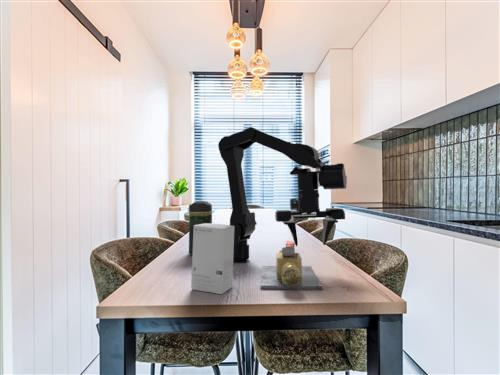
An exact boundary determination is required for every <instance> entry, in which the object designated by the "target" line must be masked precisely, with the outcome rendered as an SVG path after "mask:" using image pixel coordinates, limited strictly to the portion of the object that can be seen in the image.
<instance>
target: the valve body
mask: <svg viewBox="0 0 500 375" xmlns="http://www.w3.org/2000/svg"><path fill="white" fill-rule="evenodd" d="M275 256H276V259H275V261H276V263H275V264H276V265H262V266H261V276H260V289H261V290H303V291H304V290H307V291H308V290H309V291H314V290H315V291H322V290H323V285H322V284H321V282H320V280H319V278H318V276H317V274H316V273H315V271H314V269H313V268H312V266H310V265H309V266H306V265H305V266H303V265H302V261H303V260H302V256H301V254H300V253H299V252H295V255H294V256H283V255H282V249H281V250H280V251H278V252H276V255H275Z"/></svg>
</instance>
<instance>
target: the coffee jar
mask: <svg viewBox="0 0 500 375" xmlns="http://www.w3.org/2000/svg"><path fill="white" fill-rule="evenodd" d="M188 223H189V224H188V254H189V255H190V256H191V255H193V230H194V225H199V224H204V223H212V224H213V205H212V203H210V202H208V201H206V200H199V201H195V202H193V203H191V204H189V206H188Z"/></svg>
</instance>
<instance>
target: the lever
mask: <svg viewBox="0 0 500 375" xmlns="http://www.w3.org/2000/svg"><path fill="white" fill-rule="evenodd" d="M295 247H296V245H295V242H294V240H293V241H292V240H290V241H289V240H287V241H286V243H285V247H282V248H281V250H282V255H283V256H294V255H295V253H296V250H295Z"/></svg>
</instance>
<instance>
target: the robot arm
mask: <svg viewBox="0 0 500 375" xmlns="http://www.w3.org/2000/svg"><path fill="white" fill-rule="evenodd" d="M255 143H257V144H259V145H262V146H264V147H266V148H269V149H272V150H274V151H276V152H279V153H280V154H282V155H284V156H286V157H288V158H289V159H290V160H291V161H293V162H294V163H296V164H298V165H300V166H303V167H305V168H300V167H299V166H294V168H293V169H292V170H291V171H290V172H289V175H292V176H296V177H297V178H296V179H297V180H296V181H297V198H290V199H289V206H290V207H289V209H290V210H289V209H278V210H276V211H275V213H274V214H275V215H274V216H275V217H274V218H275V221H276V222H277V223H278V222H279V223H281V222H282V223H283V225H286V226H288V229H289V231H290V233H291V237H292V240H293V241H294V242H295V247H298V243H299V242H298V235H297V234H298V233H297V226H296V222H295V221H294V219H315V218H317V219H318V218H323V219H322V224H323V225H322V244H323V246H326V244H327V241H328V238H329V236H330V234H331V231H332V229H333V228H334V225H335V224H337V223H338V224H339V220H346V212H345V210H344V209H343V208H340V207H329V208H325V210H320V200H319V199H320V192H319V186H320V187H322V188H323V190H344V189H347V180H348V178H347V177H348V176H347V175H346V168H345V164H344V163H335V164H329V165H328V164H325V163H324V162H323V161H322V160H321V158H320V154H319V152H318V150H317V149H316V148H315V147H312V146H311V145H308V144H303V143H298V142H292V141H291V142H290V141H286V140H283V139H282V138H279V137H276V136H273V135H271V134H268V133H267V132H263V131H261V130H259V129H258V128H255V127H247V128H245V129H244V130H241V131H238V132H234V133H232V134H231V135H227V136H223V137H222V138H220V140H219V142H218V144H217V145H218V146H217V147H218V150H219V154H220V157H221V159H222V160H223V162H224V164H225V166H226V172H227V177H228V185H229V186H228V188H229V194H230V200H231V201H230V202H231V208H232V210H231V214H230V218H229V225H232V226H234V253H233V263H247V262H248V260H249V259H250V244H248V240H250V239H251V236H252V234H253V233H254V232H255V230H256V225H258V224H257V221H256V213H255V211H253V212H251V211H250V210H249V208H248V201H247V196H246V195H247V194H246V190H245V182H244V175H243V174H244V173H243V168H242V162H243V160H244V159H243V158H244V155H245V154H244V152H245V150H247V149H249V148H250V147H251V146H253V145H254V144H255ZM308 167H309V168H308ZM311 168H312V169H316V170H315V171H312V170H311Z"/></svg>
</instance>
